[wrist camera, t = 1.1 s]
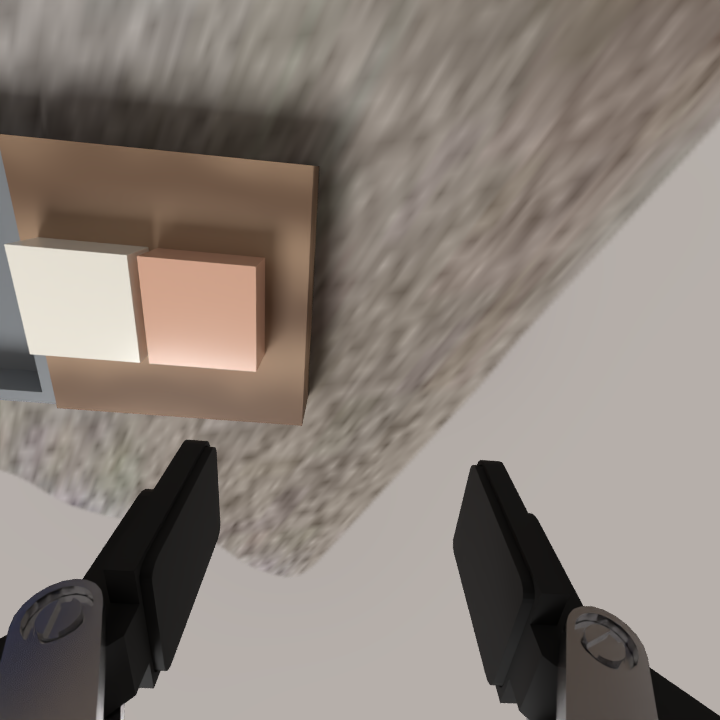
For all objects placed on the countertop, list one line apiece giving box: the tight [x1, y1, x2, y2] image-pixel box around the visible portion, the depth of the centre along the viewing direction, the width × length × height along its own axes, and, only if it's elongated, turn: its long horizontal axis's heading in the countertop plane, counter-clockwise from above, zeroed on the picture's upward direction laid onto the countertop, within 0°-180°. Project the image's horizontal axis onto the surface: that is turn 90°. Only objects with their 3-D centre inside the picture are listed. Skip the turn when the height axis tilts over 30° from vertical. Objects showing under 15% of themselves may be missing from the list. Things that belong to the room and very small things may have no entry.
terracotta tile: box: [137, 248, 265, 372], centre depth 24 cm, size 6×6×2 cm
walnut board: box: [0, 134, 319, 426], centre depth 27 cm, size 16×16×4 cm
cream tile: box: [4, 237, 149, 363], centre depth 24 cm, size 6×6×2 cm
